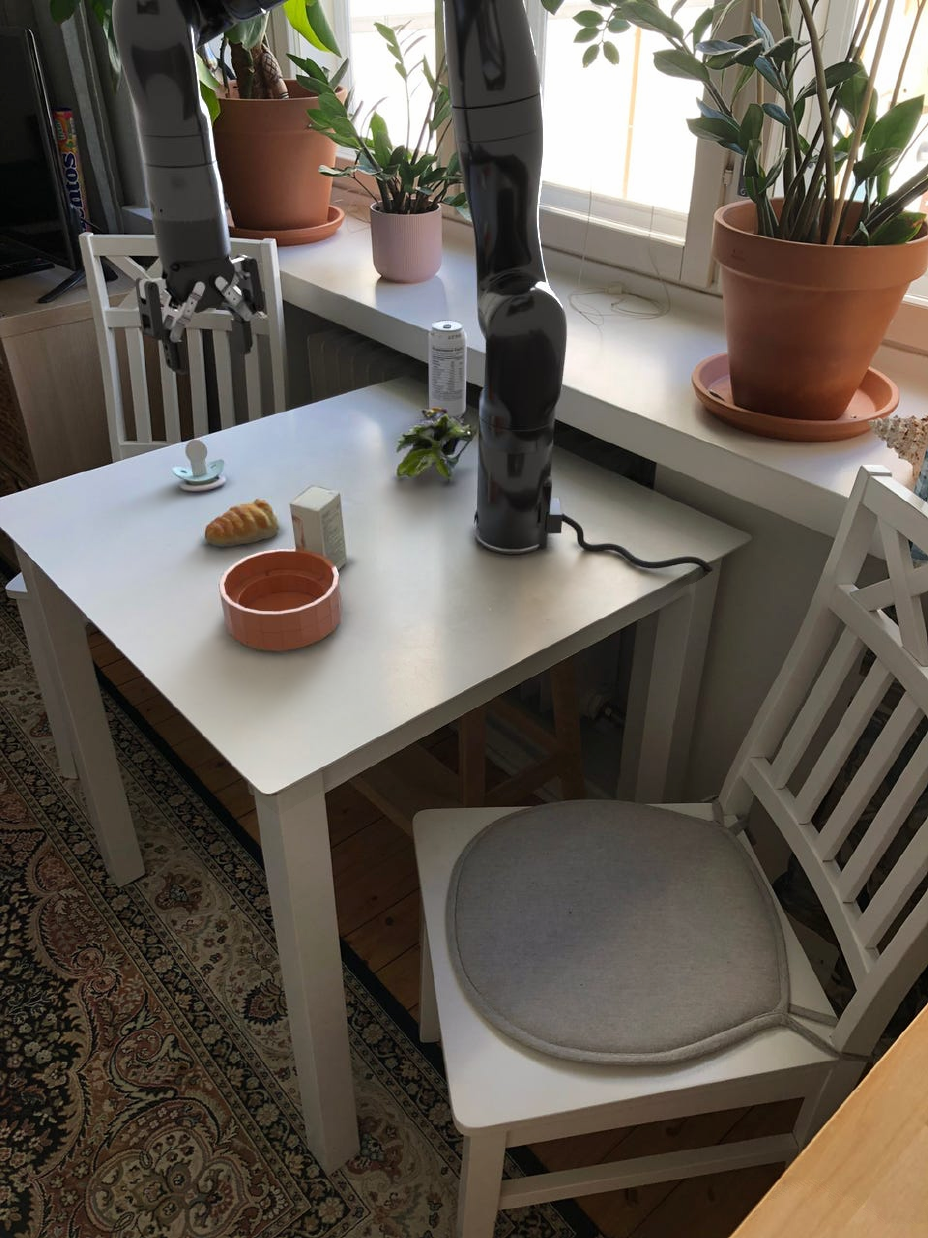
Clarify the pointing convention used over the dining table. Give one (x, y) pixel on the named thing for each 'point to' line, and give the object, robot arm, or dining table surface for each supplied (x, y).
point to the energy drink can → (447, 367)
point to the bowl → (281, 599)
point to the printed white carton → (319, 524)
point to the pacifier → (199, 469)
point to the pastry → (243, 525)
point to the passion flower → (434, 443)
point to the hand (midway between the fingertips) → (212, 362)
